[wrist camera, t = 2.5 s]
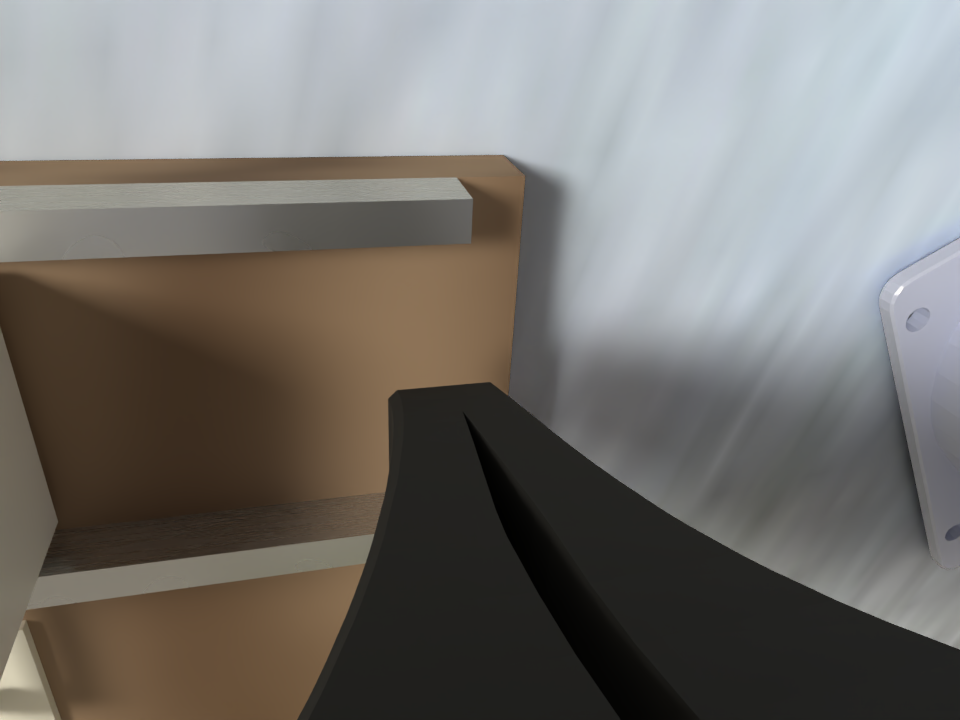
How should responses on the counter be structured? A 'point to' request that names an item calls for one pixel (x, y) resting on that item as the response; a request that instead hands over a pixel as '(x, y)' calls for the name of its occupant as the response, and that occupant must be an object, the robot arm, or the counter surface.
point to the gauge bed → (237, 416)
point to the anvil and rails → (215, 230)
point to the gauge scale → (26, 683)
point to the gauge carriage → (19, 509)
